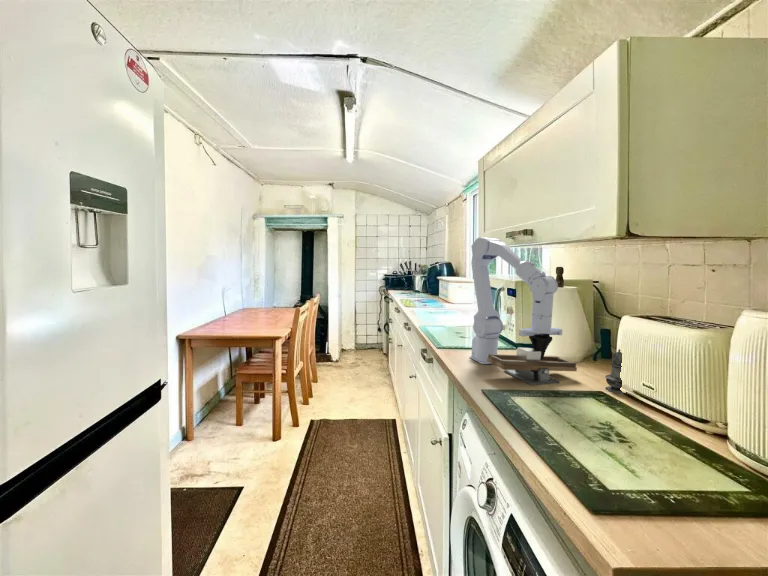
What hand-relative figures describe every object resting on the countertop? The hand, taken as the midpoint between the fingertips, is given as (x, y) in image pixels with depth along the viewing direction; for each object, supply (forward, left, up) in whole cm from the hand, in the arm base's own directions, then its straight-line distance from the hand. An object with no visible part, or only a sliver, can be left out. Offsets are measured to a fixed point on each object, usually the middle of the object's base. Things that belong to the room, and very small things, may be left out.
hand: (539, 358), depth 114 cm
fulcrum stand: (0, -3, -6) cm, 6 cm away
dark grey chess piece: (+15, +14, -6) cm, 22 cm away
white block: (0, -4, -1) cm, 4 cm away
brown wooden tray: (0, -3, -2) cm, 4 cm away
